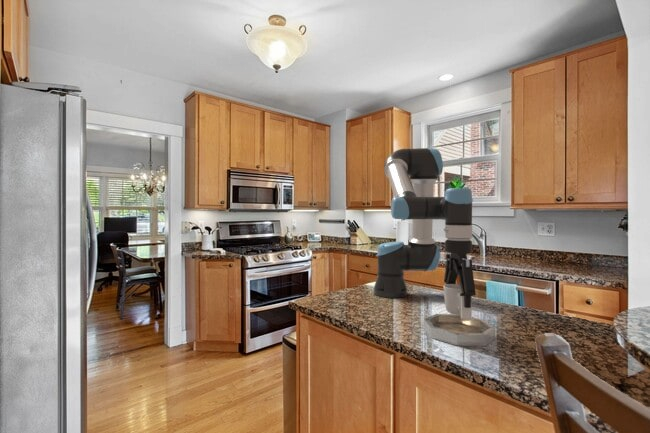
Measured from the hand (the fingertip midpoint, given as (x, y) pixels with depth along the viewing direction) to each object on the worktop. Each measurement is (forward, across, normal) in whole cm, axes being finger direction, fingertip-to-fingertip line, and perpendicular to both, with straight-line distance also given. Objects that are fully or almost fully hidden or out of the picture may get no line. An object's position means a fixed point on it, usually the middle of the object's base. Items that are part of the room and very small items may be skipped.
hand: (458, 312), depth 97 cm
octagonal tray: (+6, 0, 0) cm, 6 cm away
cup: (+1, 0, 0) cm, 1 cm away
